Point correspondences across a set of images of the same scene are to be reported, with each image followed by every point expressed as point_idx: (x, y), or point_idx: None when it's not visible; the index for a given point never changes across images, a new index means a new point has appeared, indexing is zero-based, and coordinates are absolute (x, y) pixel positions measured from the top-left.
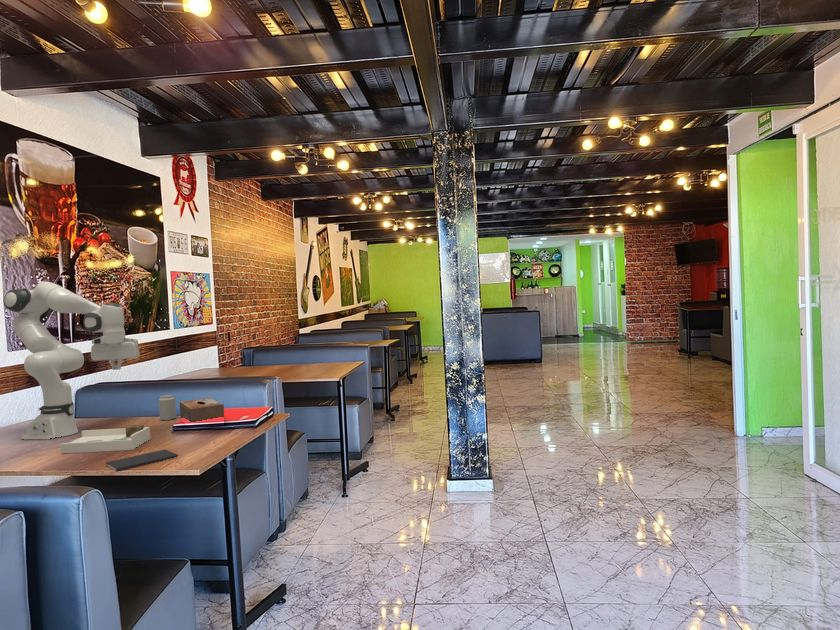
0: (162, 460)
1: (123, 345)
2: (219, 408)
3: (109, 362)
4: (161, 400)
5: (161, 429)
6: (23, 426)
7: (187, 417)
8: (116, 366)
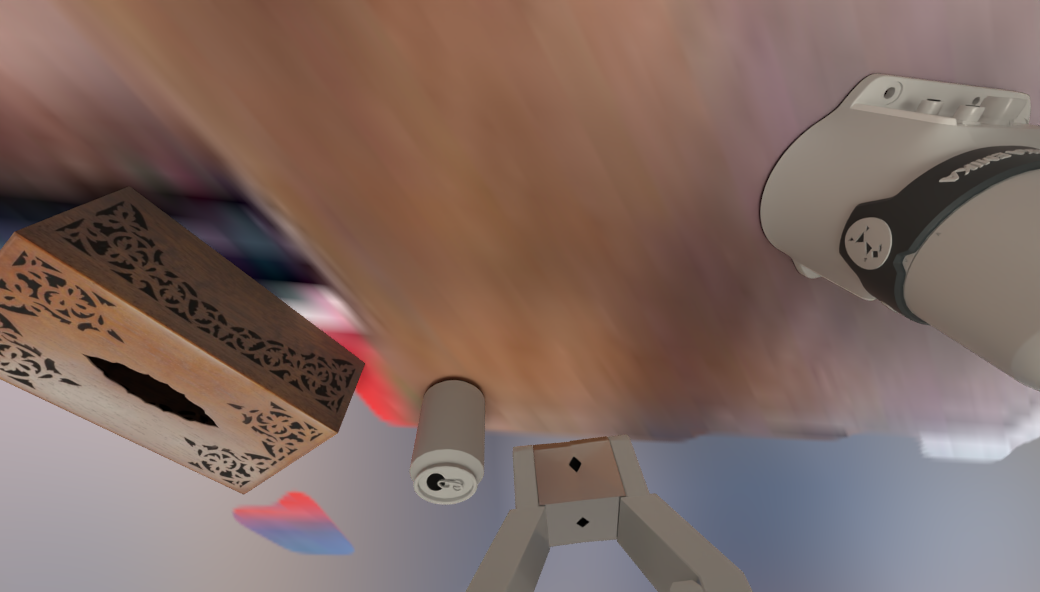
0: None
1: None
2: None
3: (735, 571)
4: (451, 448)
5: (341, 229)
6: None
7: (197, 283)
8: (557, 489)
